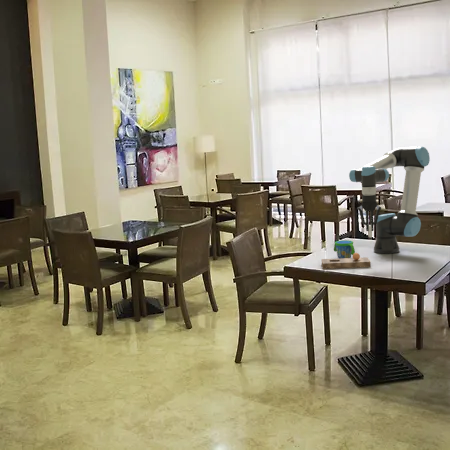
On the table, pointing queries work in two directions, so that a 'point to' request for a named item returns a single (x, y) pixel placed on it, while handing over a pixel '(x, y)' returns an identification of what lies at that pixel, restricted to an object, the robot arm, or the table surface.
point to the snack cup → (344, 248)
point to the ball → (356, 256)
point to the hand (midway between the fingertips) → (370, 236)
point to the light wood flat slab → (345, 263)
